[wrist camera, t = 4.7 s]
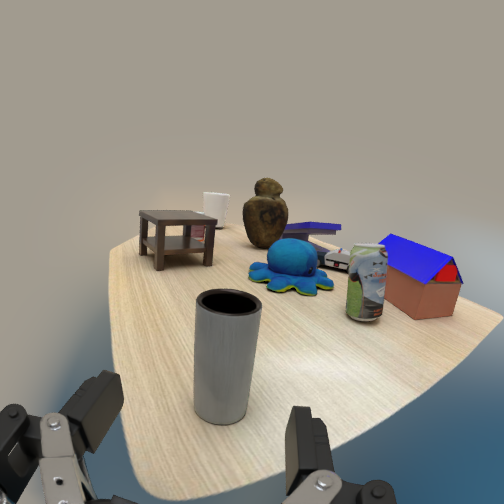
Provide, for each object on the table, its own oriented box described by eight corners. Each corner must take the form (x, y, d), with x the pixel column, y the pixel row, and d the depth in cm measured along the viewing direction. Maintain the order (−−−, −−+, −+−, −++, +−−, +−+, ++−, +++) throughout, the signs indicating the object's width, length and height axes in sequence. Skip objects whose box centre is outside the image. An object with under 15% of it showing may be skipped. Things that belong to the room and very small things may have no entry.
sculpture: (279, 245, 90) (287, 180, 85) (287, 252, 82) (297, 181, 77) (236, 242, 87) (243, 175, 82) (240, 249, 79) (249, 175, 74)
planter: (237, 388, 25) (250, 287, 23) (253, 421, 21) (272, 313, 18) (189, 392, 24) (192, 287, 21) (198, 428, 19) (202, 316, 17)
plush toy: (248, 263, 67) (252, 227, 65) (320, 271, 67) (326, 236, 65) (247, 290, 50) (253, 243, 48) (340, 298, 51) (350, 254, 49)
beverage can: (373, 330, 39) (393, 251, 36) (330, 314, 44) (346, 239, 41) (384, 317, 44) (401, 247, 41) (345, 304, 48) (359, 237, 46)
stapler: (308, 258, 77) (314, 222, 75) (266, 236, 102) (269, 208, 100) (341, 259, 82) (347, 225, 79) (294, 237, 107) (298, 211, 104)
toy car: (307, 260, 76) (310, 241, 75) (367, 273, 70) (371, 254, 69) (303, 264, 71) (306, 244, 70) (366, 278, 65) (370, 258, 64)
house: (398, 282, 65) (408, 236, 62) (453, 316, 46) (470, 258, 43) (359, 281, 62) (370, 230, 59) (414, 320, 43) (432, 255, 40)
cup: (196, 225, 109) (199, 191, 106) (219, 225, 114) (222, 193, 111) (206, 230, 101) (209, 193, 98) (231, 230, 106) (234, 195, 103)
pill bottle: (206, 243, 81) (209, 213, 79) (191, 244, 78) (193, 213, 77) (199, 239, 85) (201, 211, 83) (184, 240, 82) (186, 211, 80)
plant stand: (155, 271, 54) (158, 219, 51) (137, 253, 63) (139, 210, 61) (213, 266, 62) (218, 219, 59) (187, 250, 71) (190, 210, 69)
